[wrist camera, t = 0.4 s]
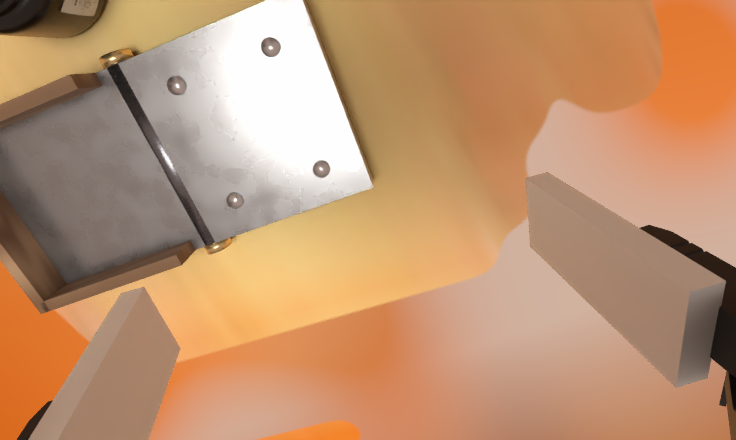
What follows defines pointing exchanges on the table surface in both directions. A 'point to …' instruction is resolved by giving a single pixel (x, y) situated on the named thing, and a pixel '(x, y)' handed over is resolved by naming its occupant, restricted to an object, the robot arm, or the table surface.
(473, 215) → the table surface
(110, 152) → the hinge
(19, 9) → the ink bottle
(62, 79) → the holder
